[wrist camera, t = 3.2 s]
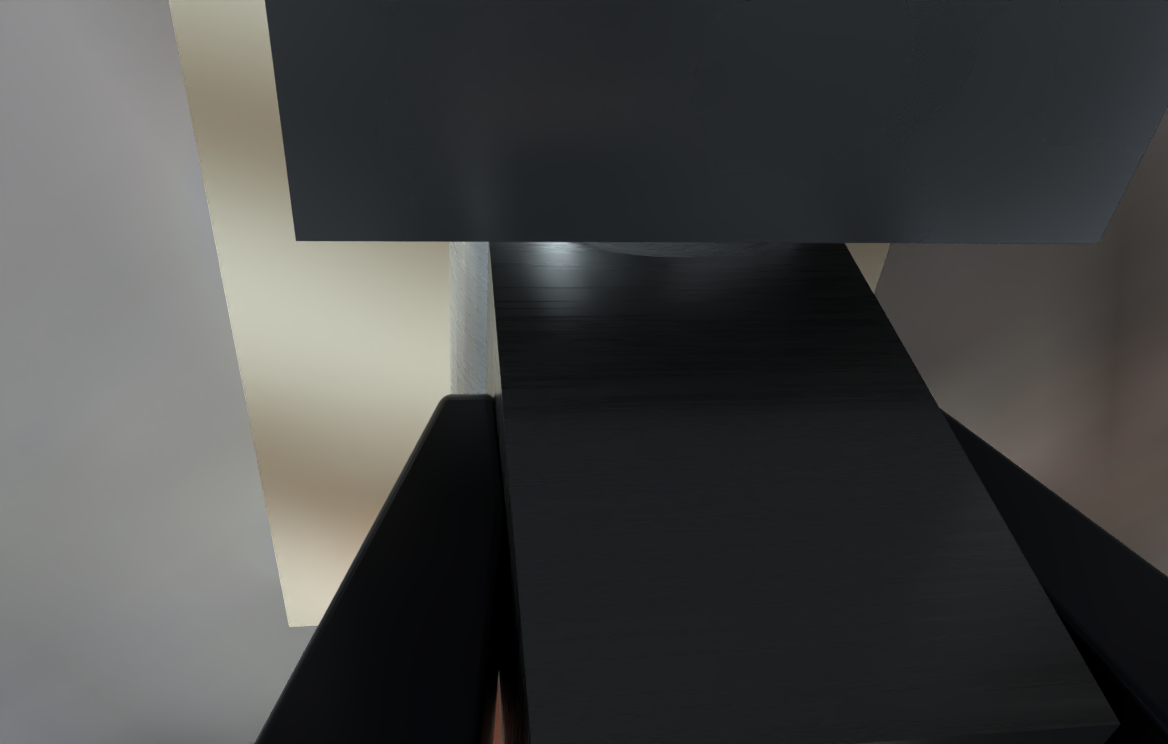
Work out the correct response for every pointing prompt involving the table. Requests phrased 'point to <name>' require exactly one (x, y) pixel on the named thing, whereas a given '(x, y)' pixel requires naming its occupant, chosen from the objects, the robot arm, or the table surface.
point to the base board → (316, 316)
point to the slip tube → (742, 511)
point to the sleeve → (715, 118)
